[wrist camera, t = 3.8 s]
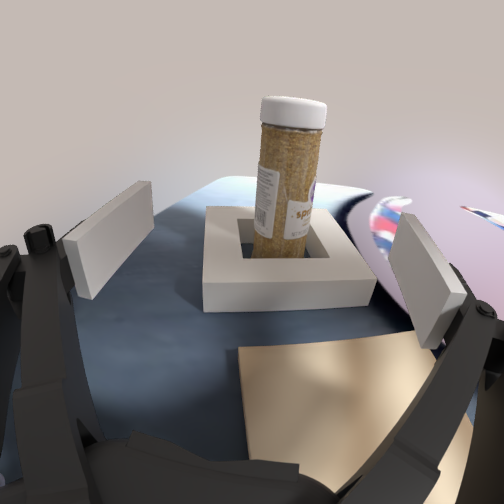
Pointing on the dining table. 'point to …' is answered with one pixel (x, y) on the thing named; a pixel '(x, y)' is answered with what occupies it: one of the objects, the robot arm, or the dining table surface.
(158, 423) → the dining table surface
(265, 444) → the birch board
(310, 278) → the socket block
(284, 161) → the sprinkles bottle
